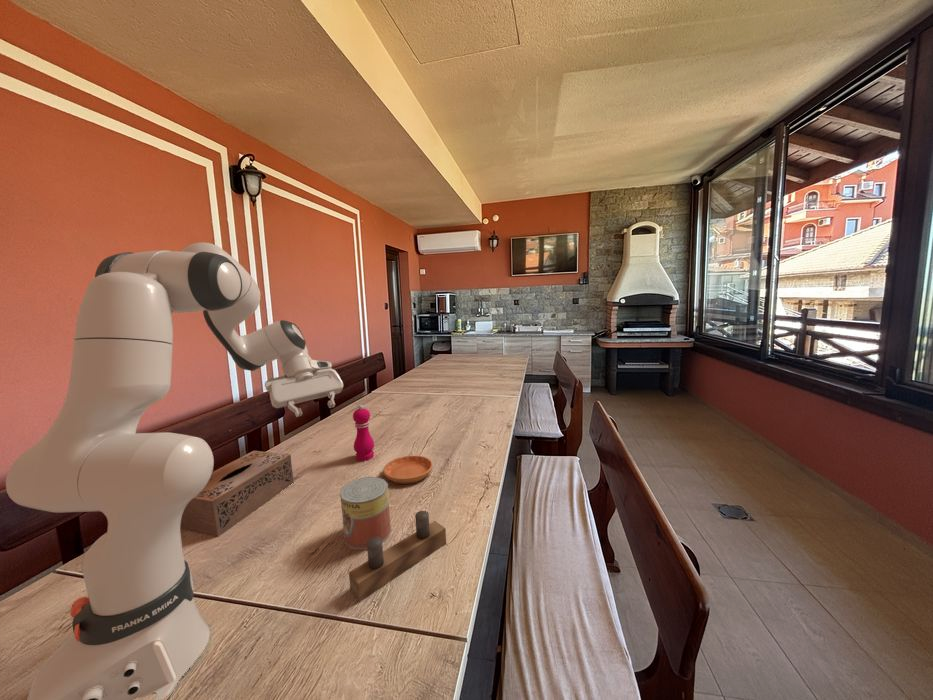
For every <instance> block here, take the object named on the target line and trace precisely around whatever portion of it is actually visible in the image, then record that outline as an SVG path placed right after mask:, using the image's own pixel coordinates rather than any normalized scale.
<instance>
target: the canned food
mask: <svg viewBox="0 0 933 700" xmlns="http://www.w3.org/2000/svg"><path fill="white" fill-rule="evenodd" d="M339 497H340V503H341V504H340V506H341V514H342V524H343V526H342V528H343V534H344V537H343V540H344V541H343V542H344V543H345V545H346V546H347V547H349V548H351V549H354V550H367V541H368V540H369V539H370V538H372V537H380V538H381V539H382V543H384V542H385V541H386V540H387V539H388V538H389V536H390V534H391V533H392V526H391V516H390V515H391V513H390V501H389V498H390V497H389V484H388V482H387V481H386V480H385V479H384V478H381V477H378V476H365V477H361V478H356V479H354V480H352V481H350V482H348V483H347V484H345V485H344V486H343V487H342V488H341V489H340V491H339Z"/></svg>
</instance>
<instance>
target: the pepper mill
mask: <svg viewBox="0 0 933 700" xmlns="http://www.w3.org/2000/svg"><path fill="white" fill-rule="evenodd" d="M357 407H358V409H356V410H354V412H353V414H352V420H353V421H354V425H355V428H356V437H355V440H354V442H353V450H354V451H355V459H356V460H357V461H359V460H360V462H365V460H366V461H369V459H370V460H371V459H373V458H374V456H375V455H374V454H375V453H374V448H375V442H374V439H373V437H372V435H371V434H370V430H369V429H370V428H369V426H370V421H369V420H370V418H371V413H370V411H369V410H368V409H367V408H364V405H363V404H359V405H358V406H357Z"/></svg>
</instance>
